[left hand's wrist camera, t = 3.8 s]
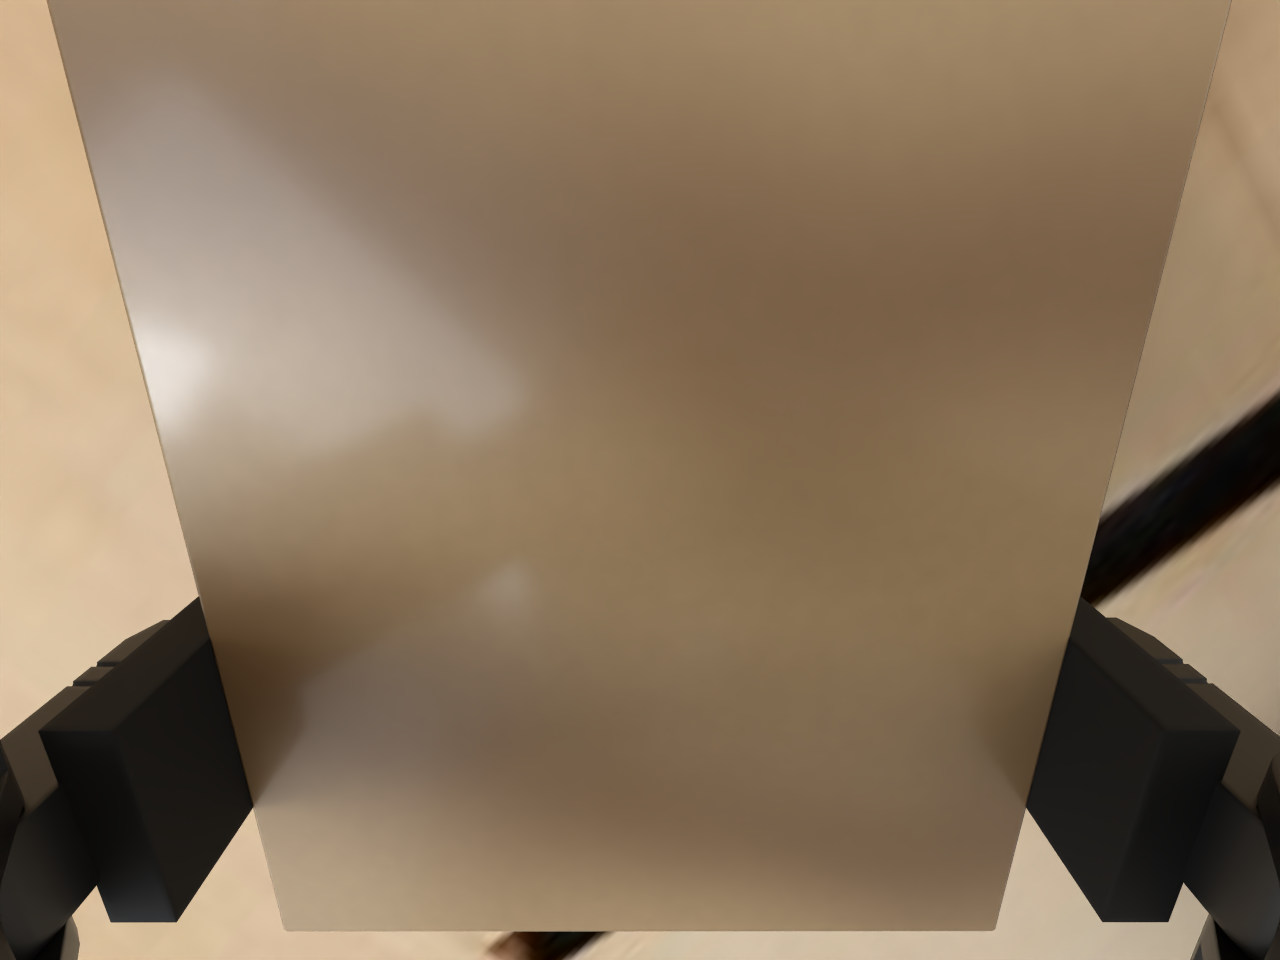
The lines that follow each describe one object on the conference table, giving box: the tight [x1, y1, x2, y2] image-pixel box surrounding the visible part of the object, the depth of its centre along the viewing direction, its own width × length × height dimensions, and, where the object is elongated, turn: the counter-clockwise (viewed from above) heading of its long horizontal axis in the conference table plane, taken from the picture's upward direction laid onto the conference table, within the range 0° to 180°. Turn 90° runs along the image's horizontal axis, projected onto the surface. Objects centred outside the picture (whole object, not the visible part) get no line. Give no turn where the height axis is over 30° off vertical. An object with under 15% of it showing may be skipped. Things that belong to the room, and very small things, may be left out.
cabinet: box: [47, 0, 1232, 931], centre depth 11 cm, size 20×11×10 cm, turn 0°
